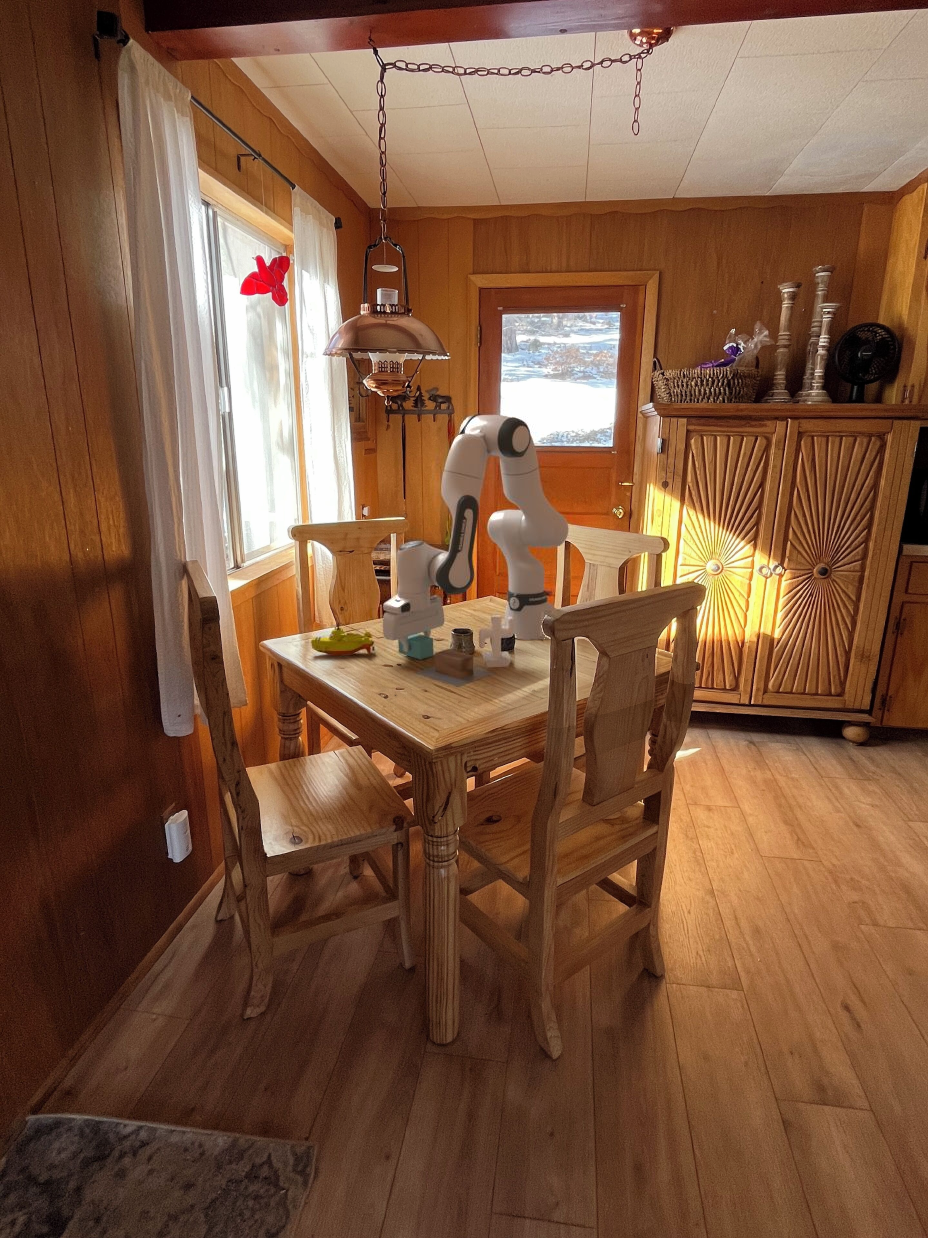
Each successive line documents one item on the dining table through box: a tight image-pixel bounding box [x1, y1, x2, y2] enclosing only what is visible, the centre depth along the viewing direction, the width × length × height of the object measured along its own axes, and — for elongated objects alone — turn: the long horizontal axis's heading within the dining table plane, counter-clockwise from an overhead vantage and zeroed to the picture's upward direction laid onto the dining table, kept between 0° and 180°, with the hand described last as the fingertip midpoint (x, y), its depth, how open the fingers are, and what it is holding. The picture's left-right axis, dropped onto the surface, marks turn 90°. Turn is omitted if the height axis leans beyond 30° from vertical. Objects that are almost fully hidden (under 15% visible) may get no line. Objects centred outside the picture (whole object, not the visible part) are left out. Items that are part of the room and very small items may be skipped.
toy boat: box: [310, 621, 376, 657], centre depth 202 cm, size 6×18×10 cm, turn 94°
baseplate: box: [413, 665, 495, 688], centre depth 183 cm, size 14×16×2 cm
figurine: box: [478, 614, 514, 668], centre depth 188 cm, size 7×9×15 cm
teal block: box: [397, 633, 435, 661], centre depth 196 cm, size 5×9×5 cm, turn 46°
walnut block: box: [434, 648, 474, 679], centre depth 182 cm, size 5×9×5 cm, turn 47°
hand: (415, 648), depth 197 cm, fingers closed on teal block, 5 cm apart
